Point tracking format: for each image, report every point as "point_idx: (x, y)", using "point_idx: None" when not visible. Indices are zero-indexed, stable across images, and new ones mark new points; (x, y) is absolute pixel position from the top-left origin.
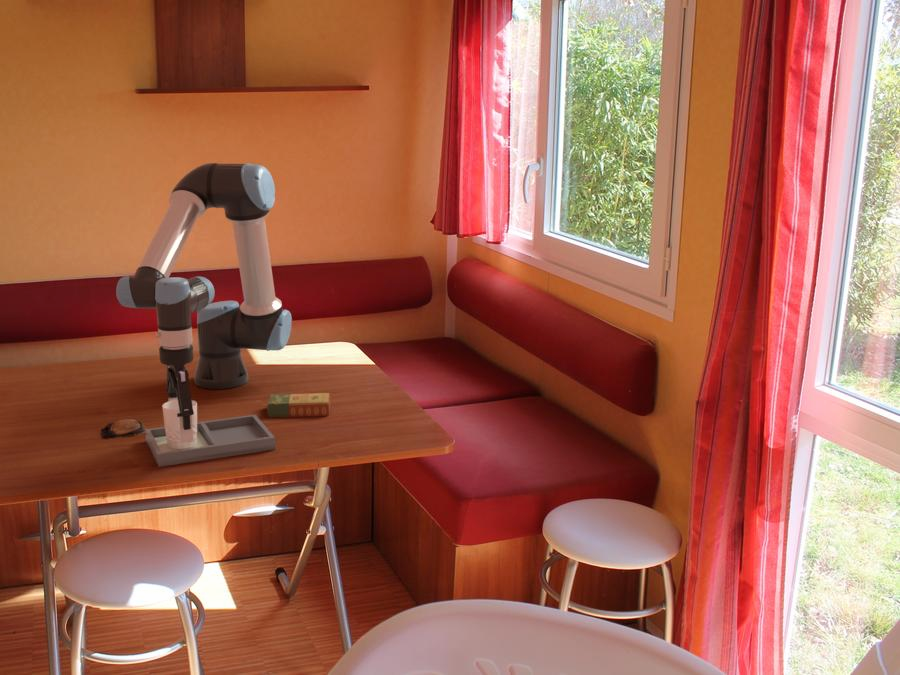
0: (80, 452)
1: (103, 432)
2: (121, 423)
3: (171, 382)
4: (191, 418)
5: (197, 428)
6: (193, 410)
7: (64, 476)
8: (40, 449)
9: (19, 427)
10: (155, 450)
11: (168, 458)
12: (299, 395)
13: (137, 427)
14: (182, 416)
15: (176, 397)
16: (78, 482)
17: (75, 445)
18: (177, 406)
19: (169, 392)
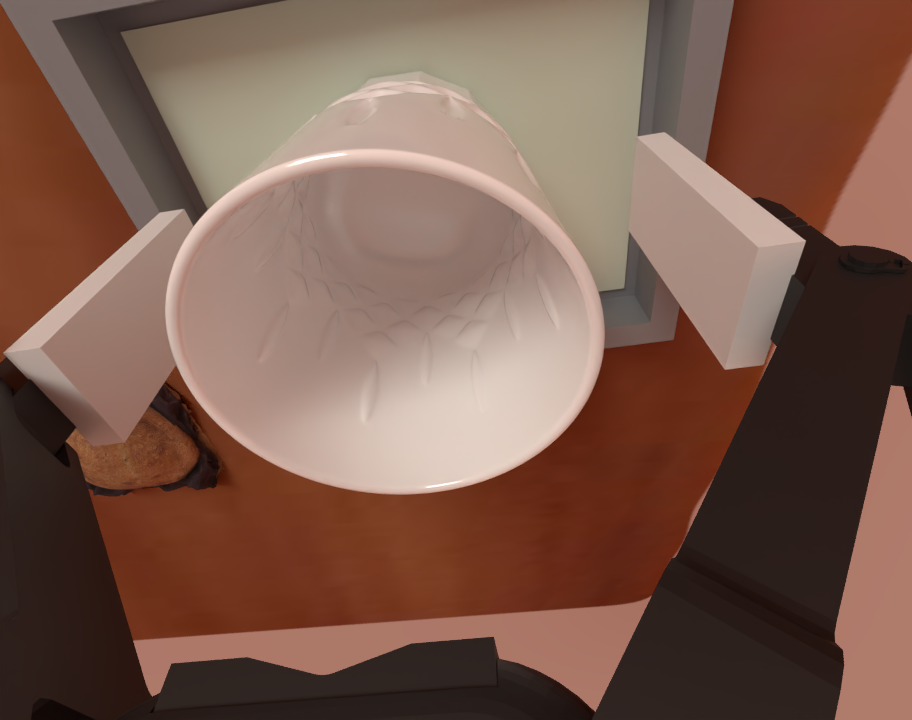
0: (370, 521)
1: (163, 487)
2: (136, 474)
3: (140, 688)
4: (772, 222)
5: (97, 49)
6: (534, 195)
7: (577, 537)
8: (325, 587)
9: (134, 626)
10: None
11: None
12: None
13: None
14: (764, 334)
15: (49, 383)
16: (649, 511)
17: (297, 534)
18: (235, 341)
19: (90, 503)
